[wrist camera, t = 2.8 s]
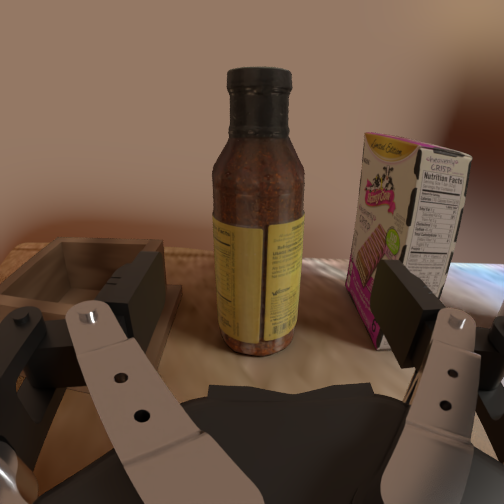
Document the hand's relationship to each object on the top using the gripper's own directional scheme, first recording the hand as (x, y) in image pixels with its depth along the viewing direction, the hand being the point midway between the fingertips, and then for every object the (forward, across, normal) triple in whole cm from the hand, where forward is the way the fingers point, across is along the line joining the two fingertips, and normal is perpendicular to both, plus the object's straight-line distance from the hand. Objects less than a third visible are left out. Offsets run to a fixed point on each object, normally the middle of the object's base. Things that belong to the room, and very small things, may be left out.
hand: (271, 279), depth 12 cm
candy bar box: (+14, -12, +11) cm, 21 cm away
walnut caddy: (+10, +14, +11) cm, 20 cm away
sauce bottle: (+11, 0, +11) cm, 16 cm away
